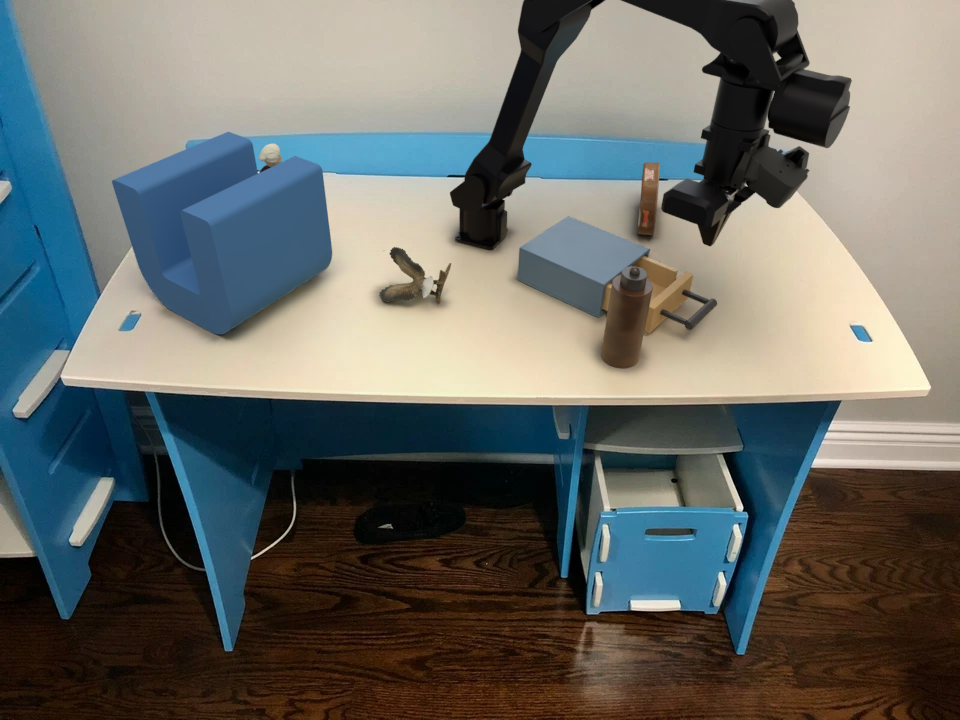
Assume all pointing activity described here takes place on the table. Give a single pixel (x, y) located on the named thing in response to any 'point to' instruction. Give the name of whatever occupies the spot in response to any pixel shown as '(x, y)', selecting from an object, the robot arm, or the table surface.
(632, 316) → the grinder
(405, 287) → the eagle figurine
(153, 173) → the block
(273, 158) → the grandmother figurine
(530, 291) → the table surface
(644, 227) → the tin
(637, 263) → the drawer
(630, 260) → the cabinet
